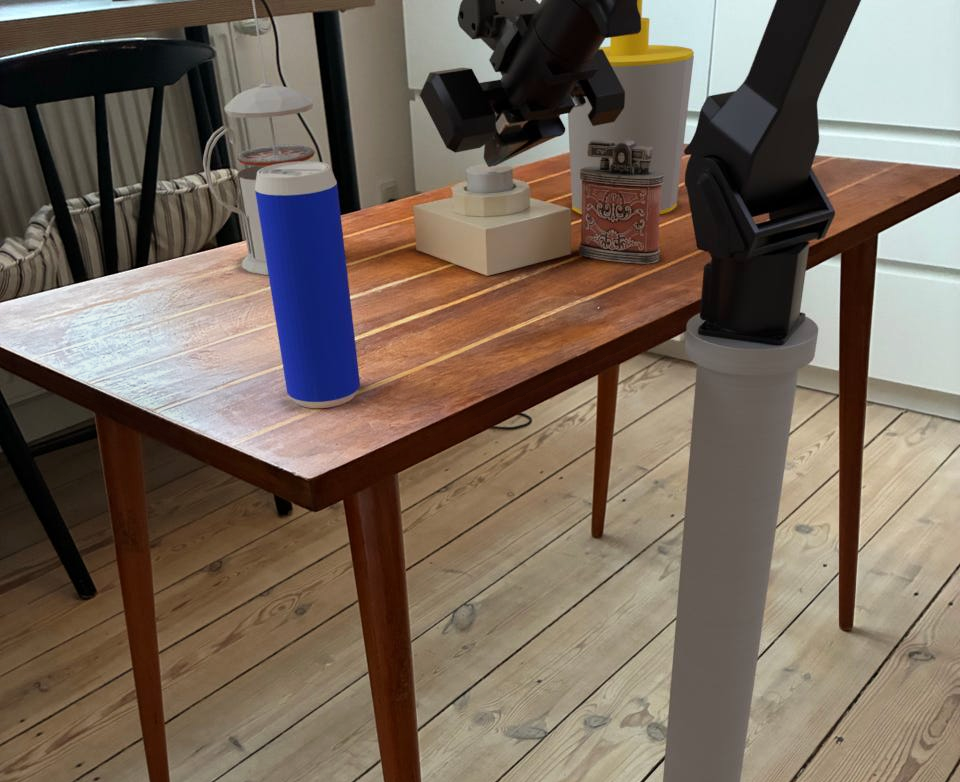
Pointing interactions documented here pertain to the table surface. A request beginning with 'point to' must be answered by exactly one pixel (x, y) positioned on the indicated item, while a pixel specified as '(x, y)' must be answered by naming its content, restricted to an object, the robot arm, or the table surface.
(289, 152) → the french press
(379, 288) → the table surface
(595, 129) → the white tapered piece
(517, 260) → the push button base
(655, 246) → the lighter
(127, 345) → the table surface
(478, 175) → the grey push button
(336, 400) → the beverage can
